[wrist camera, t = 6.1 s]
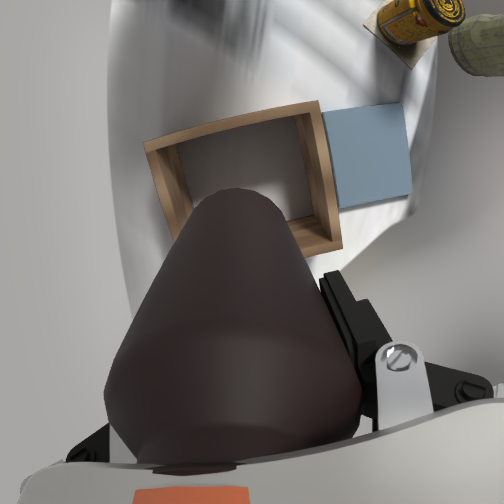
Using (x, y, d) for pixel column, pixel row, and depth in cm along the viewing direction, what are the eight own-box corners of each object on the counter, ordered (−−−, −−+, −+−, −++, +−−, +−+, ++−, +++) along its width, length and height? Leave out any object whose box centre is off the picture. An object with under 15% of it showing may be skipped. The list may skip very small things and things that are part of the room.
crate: (164, 136, 35) (142, 142, 27) (300, 103, 34) (318, 100, 26) (198, 249, 42) (188, 283, 33) (322, 220, 41) (343, 248, 32)
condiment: (390, -6, 28) (436, -36, 17) (435, 37, 30) (490, 24, 19) (362, 24, 30) (405, -3, 19) (410, 69, 32) (465, 61, 21)
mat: (321, 112, 35) (323, 112, 34) (398, 103, 34) (401, 102, 33) (338, 206, 40) (340, 208, 39) (409, 191, 39) (412, 193, 38)
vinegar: (202, 173, 20) (-36, 526, 1) (304, 206, 21) (513, 532, 2) (174, 268, 22) (66, 585, 3) (267, 296, 23) (314, 612, 4)
